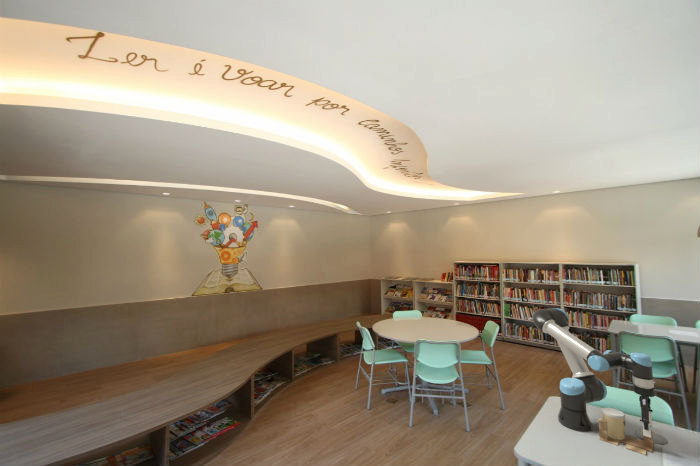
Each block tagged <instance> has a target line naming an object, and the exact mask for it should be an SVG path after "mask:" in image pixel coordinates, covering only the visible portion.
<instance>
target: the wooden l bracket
mask: <svg viewBox="0 0 700 466" xmlns="http://www.w3.org/2000/svg"><path fill="white" fill-rule="evenodd" d="M640 427H641V429H642V437H643V439H639V438H635V437H632V436H629V435H626V434H625V438H624V439H623V440H618V439H614V438H611V437H609V436H608V438H611V439H614V440H617V441H619V442H620V443H622V444H625V445H626V444H629V445H632V446H635V447H638V448H641V449H644V450H646V452H650V453H653V450H654V443H653V434H652V432H653V424H652V425H650V429H651V438H650V437H647V436H643V427H642V423H641V424H640Z"/></svg>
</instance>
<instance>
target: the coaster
mask: <svg viewBox="0 0 700 466" xmlns="http://www.w3.org/2000/svg"><path fill="white" fill-rule="evenodd" d="M634 434H635V436H637V437H639V438H640V439H641V440H643V437H642V428H639V429H637V428H636V429H635V430H634ZM652 434H653V444H656V445H657V444H658V445H666V444H667V443H668V440H667V439H666V438H665V437H664V436H663V435H661V434H659V433H657V432H654V431H652Z"/></svg>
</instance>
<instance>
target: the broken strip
mask: <svg viewBox="0 0 700 466" xmlns="http://www.w3.org/2000/svg"><path fill="white" fill-rule="evenodd" d="M598 428H599V429H598V430H599V433H598V434H599V440H600V441H603V442H606V443H609V444H612V445H615V446H617V447H618V446H619V444H620V443H619V441H617V440H614V439H611V438H608V428H607V420H605V419H603V417H602V418H601V417H599V418H598ZM625 449H626V450H628V451H632V452H634V453H638V454H640V455H644V456H647V451H646V450H644V449H641V448H638V447H635V446H632V445H629V444H625Z"/></svg>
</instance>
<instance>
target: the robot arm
mask: <svg viewBox="0 0 700 466" xmlns="http://www.w3.org/2000/svg"><path fill="white" fill-rule="evenodd" d="M532 322H533V324H534V325H535V327H536V328H537V329H538V330H539V331H541V332H543V333H544V334H548V335H550V336H551V337H552V338H554V339H555V340H556V342H557V345H558V346H559V349H560V350H561V352H562V354H563V357H564V358H565V361H566V363H567V364H568V367H569V369H570V370H571V372H572V377H565V378H562V379H561V380H560V381H559V395H560V396H559V397H560V409H559V412H558V415H557V420H558V422H559V423H560V424H561V425H562V426H564V427H566V428H568V429H570V430H572V431H573V430H574V431H578V432H590V431H592V429H593V428H592V427H593V426H592V421H591V419H590V417H589V415H588V411H587V404H591V403H595V402H600V401H602V400H604V399H605V398H606V397H607V394H608V390H607V386H606V385H605V383H604V382H603V381H602V380H601V379H599V378H598V377H596V375H595V373H593V372H592V371H590V370H589V367H590V368H591V369H592V370H593V371H596V372H607V371H611V370H616V369H624V370H628V371H630V372H631V374H632V375H631V376H632V384H633V392H634V393H635V394H637V395H639V398H638V399H639V400H638V401H639V407H640V410H641V411H640V413H641V419H639V422H641V424H642V427H643V436H647V437H650V438H651V429H650V425H652V426H653V421H652V420H653V418H652V413H653V409H651V402H652V400H651V398H654V397H655V395H656V393H655V392H656V391H655V388H654V387H655V385H654V384H656V381H655V380H654V376H653V363H652V358H651V356H650V355H648V354H646V353H642V352H635V351H634V352H631V353H630V354H626V353H623V352H618V351H615V350H611V349H607V350H605V351H604V352H603V353H601V352H600V351H598V350H597V349H596V348H593V347H592V346H590V345H589V344H587V343H586V342H585V341H583V340H582V339H580V338H578V337H577V336H576V335H574V334H572V333H571V332H570V331H569V330H570V325H569V324H570V317H569V315H568V313H567V312H566V311H565V310H564V309H561V308H558V307H557V308H556V307H549V308H543V309H537V310H535V312H533V314H532ZM585 360H586V362H587V364H588V366H589V367H588V366H587V364H586V362H585ZM642 427H641V428H642Z"/></svg>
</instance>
